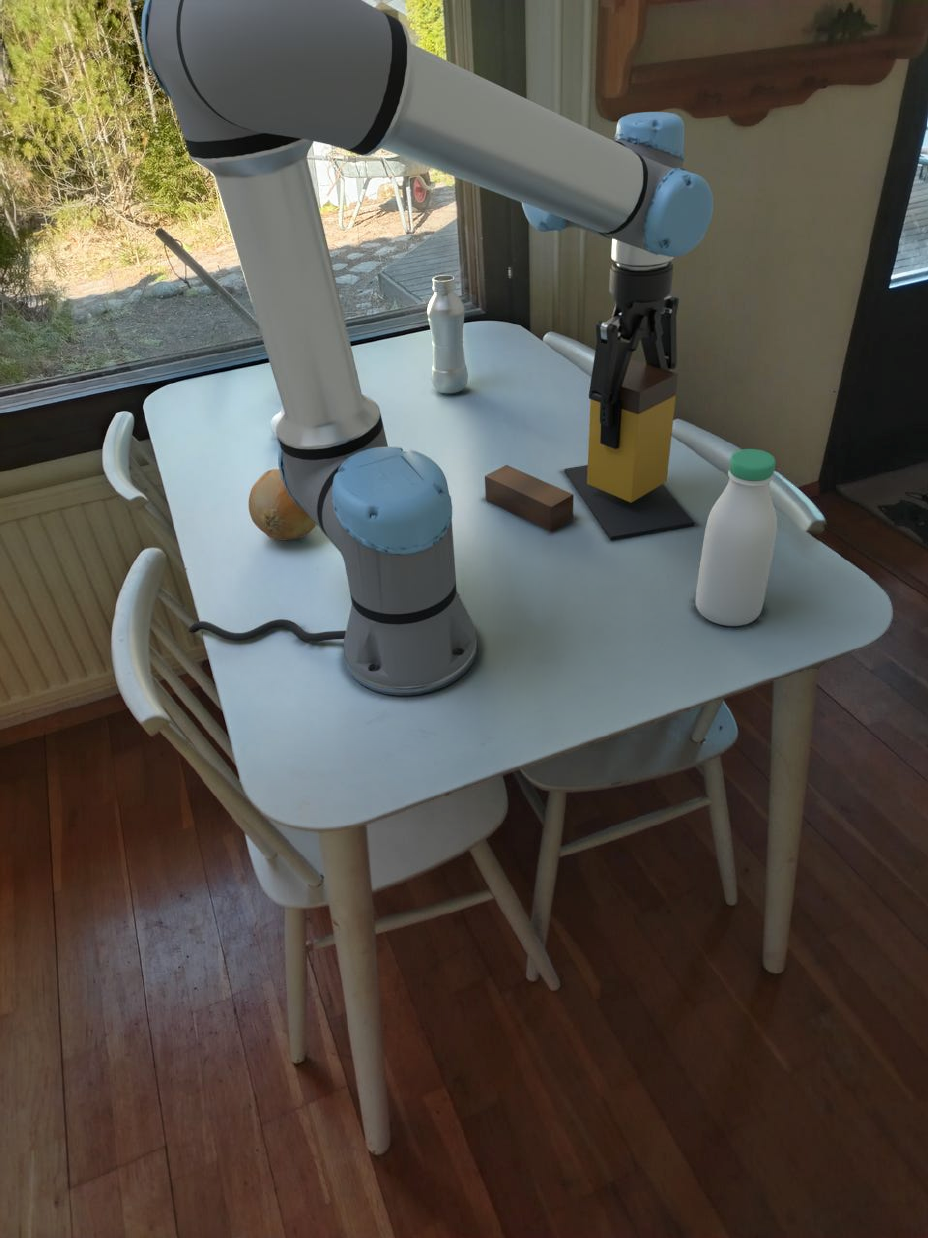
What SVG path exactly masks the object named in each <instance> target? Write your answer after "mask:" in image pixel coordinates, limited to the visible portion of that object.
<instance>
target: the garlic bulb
mask: <svg viewBox="0 0 928 1238" xmlns="http://www.w3.org/2000/svg"><path fill="white" fill-rule="evenodd" d="M284 413H285V412H284V408H283V405H282V404H281V408H280V412H278V413H277V414H275V415H274V416H273V418H272V419H271V421H270V431H271V433H272V435H273V436H274V437H276V438H277V439H278V437H277V434H276V427H277V424H278V422H279V420H280V419H281V417H282V416H283V414H284Z"/></svg>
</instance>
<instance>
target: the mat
mask: <svg viewBox="0 0 928 1238" xmlns="http://www.w3.org/2000/svg"><path fill="white" fill-rule="evenodd" d="M563 470H564V472H563V473H564V474H565V475H566V477H567V478H568V480H569V481H570V483H571V484H572V486H573V487H574V489H575V490H576V492H577V493H578V494H579V496H580V498H581V499H582V501H583V502H584V503H585V505H586V506H587V508H588V509H589V511H590V512H591V514H592V515H593V517H594V518H595V520H596V521H597V523H598V524H599V525H600V527H601V528H602V530H603V532H604V533H605V534H606V536H607V537H608V539H609V541H616V540H621V539H626V538H632V537H633V538H634V537H637V536H643V535H649V534H654V533H660V532H661V533H662V532H666V531H671V530H676V529H684V528H688V527H694V526H695V521H694V519H692V518H691V517H690V515H689V514H688V513H687V512H686V510H685V509H684V508H683V507H682V506H681V505H680V503H679V502H678V501H677V500H676V499H675V498H674V496H673V495H672V494H671V493H670V492H669V491H668V489H667V488H666V487H665V486H664V484H662V485H660V486H659V487H657V488H655V489H653V490H652V491H650V492H648V493H647V494H645V495H643V496H642V497H640V498H638V499H637V500H635V501H633V502H632V503H631V502H628V501H626V500H624V499H621V498H619V497H617V496H614V495H612V494H610V493H607V492H605V491H603V490H600V489H598V488H596V487H593V486H591V485H589V484H587V471H588V464H586V465H579V466H573V467H568V468H567V467H566V468H564V469H563Z"/></svg>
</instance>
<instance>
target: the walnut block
mask: <svg viewBox="0 0 928 1238" xmlns="http://www.w3.org/2000/svg"><path fill="white" fill-rule="evenodd" d="M484 489H485V492H484V493H485V501H487V502H488V503H491V504H493V505H495V506H497V507H499V508H500V509H503V510H505V511H507V512H510V513H512V514H513V515H515V516H517V517H520V518H522V519H523V520H525V521H527V522H530V523H532V524H534V525H536V526H538V527H540V528H542V529H544V530H546V531H548V532H550V533H552V532H554V531H555V530H557V529H559V528H561V527H563V526H564V525H566V524H567V523H570V522H572V521H573V520H574V498H575V497H574V493H571V492H569V491H567V490H565V489H563V488H560V487H558V486H556V485H553V484H551V483H549V482H547V481H544V480H542V479H540V478H538V477H535V476H533V475H531V474H529V473H526V472H524V471H522V470H520V469H517V468H515V467H512V466H510V465H509V464H505V465H504V466H501V467H499V468H497V469H496V470H493V471H491V472H490V473H487V474H485V475H484Z"/></svg>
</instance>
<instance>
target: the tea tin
mask: <svg viewBox="0 0 928 1238" xmlns="http://www.w3.org/2000/svg"><path fill="white" fill-rule="evenodd" d="M678 379H679V373H677V372H675V371H671V370H669V371H668V370H664V369H661V368H658V367H654V366H651V365H648V364H646V362H641V361H638V360H634V359H632V358H631V359H630V362H629V365H628V368H627V372H626V375H625V378H624V381H623V385H622V388H621V391H620V394H619V398H618V400H619V401H622V413H621V429H620V444H619V448H617V449H614V448H611V447H609V446H606V445H604V444H601V443H600V436H601V424H600V402H597V401H594V400H591V399H589V401H590V403H589V426H588V427H589V428H588V447H587V448H588V452H587V465H588V471H587V484H589V485H591V486H593V487H596V488H598V489H600V490H603V491H605V492H607V493H610V494H612V495H614V496H617V497H619V498H621V499H624V500H626V501H628V502H631V503H632V502H633V501H635V500H637V499H638V498H640V497H642V496H643V495H645V494H647V493H648V492H650V491H652V490H653V489H655V488H657V487H659V486H660V485H664V484H665V483H667V481H668V471H669V462H670V455H671V454H670V453H671V443H672V435H673V427H674V426H673V424H674V416H675V406H676V397H677V388H678ZM610 393H611V392H610Z"/></svg>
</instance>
